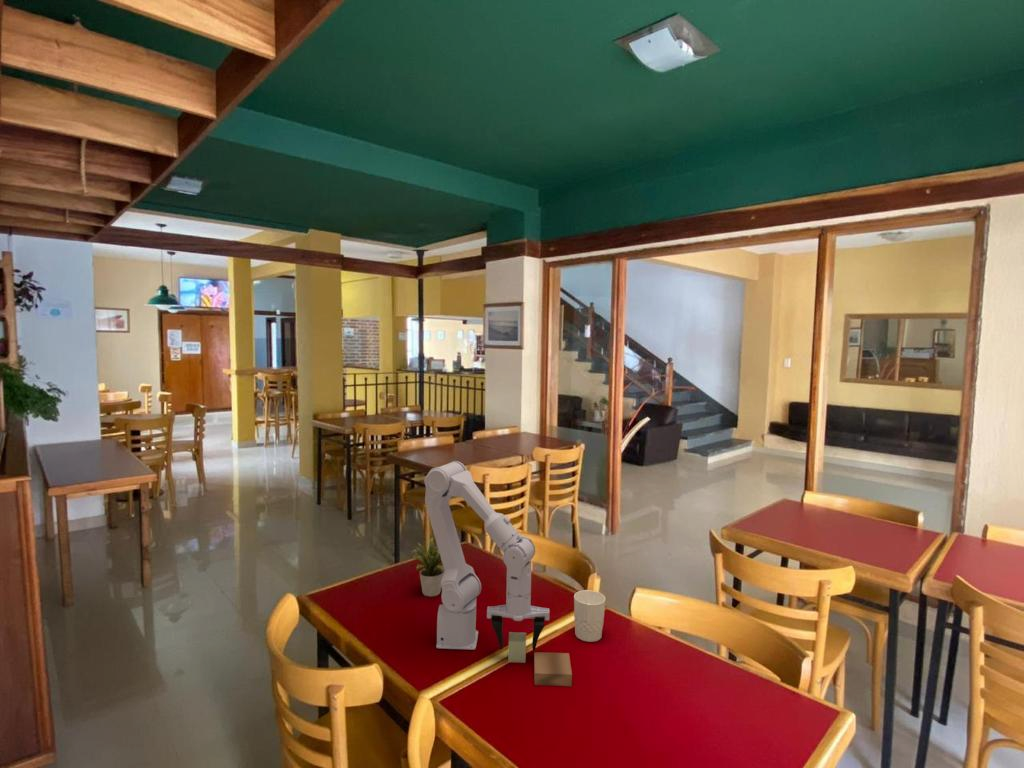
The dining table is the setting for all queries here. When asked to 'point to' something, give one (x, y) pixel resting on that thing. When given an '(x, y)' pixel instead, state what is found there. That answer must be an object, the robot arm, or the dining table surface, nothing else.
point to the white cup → (589, 615)
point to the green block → (517, 647)
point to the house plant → (430, 569)
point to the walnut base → (552, 669)
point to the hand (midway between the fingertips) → (517, 647)
